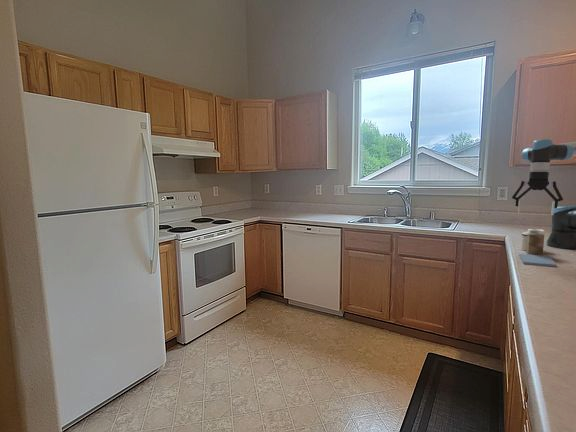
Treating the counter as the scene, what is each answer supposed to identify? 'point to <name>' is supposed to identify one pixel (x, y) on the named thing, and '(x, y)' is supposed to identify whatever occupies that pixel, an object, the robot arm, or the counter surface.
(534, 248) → the beige canister
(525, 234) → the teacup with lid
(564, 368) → the counter surface
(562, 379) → the counter surface
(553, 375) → the counter surface
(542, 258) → the slate mat
